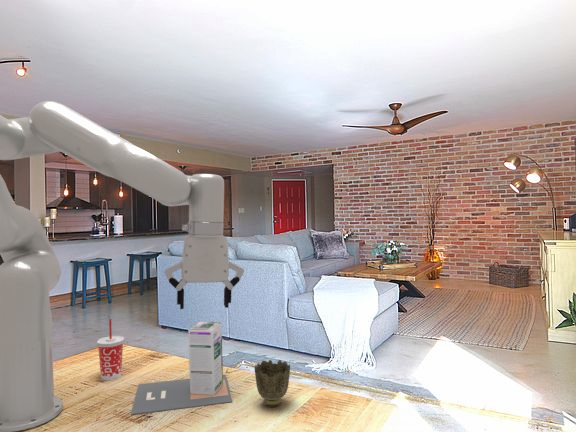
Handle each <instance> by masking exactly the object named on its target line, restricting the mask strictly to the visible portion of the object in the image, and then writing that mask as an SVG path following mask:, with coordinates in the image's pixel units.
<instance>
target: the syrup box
mask: <svg viewBox="0 0 576 432" xmlns="http://www.w3.org/2000/svg"><path fill="white" fill-rule="evenodd" d="M222 327H223V326H222V322H216V321H198V322H197V324H195V325H194V326H192V327H190V328H189V329H188V330H187V332H188V365H189V366H188V367H189V370H188V371H189V379H190V393H191V394H197V395H210V396H214V395H215V393H216V392H217V391H218V390H219V389H220V387H221V386H222V385H223V375H224V370H223V369H224V367H223V366H224V364H223V362H224V361H223V336H222V335H223V334H222V333H223V332H222Z"/></svg>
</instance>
